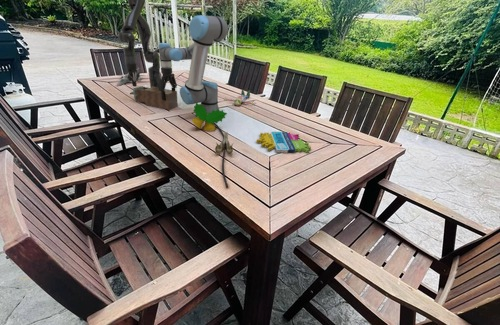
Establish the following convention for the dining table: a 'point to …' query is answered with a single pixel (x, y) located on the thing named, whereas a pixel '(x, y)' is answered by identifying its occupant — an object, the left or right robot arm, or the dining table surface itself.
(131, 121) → the dining table surface
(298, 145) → the sign
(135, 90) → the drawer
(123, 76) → the airplane
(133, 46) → the left robot arm
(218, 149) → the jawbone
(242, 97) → the toy
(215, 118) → the ornament
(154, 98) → the large taupe box
